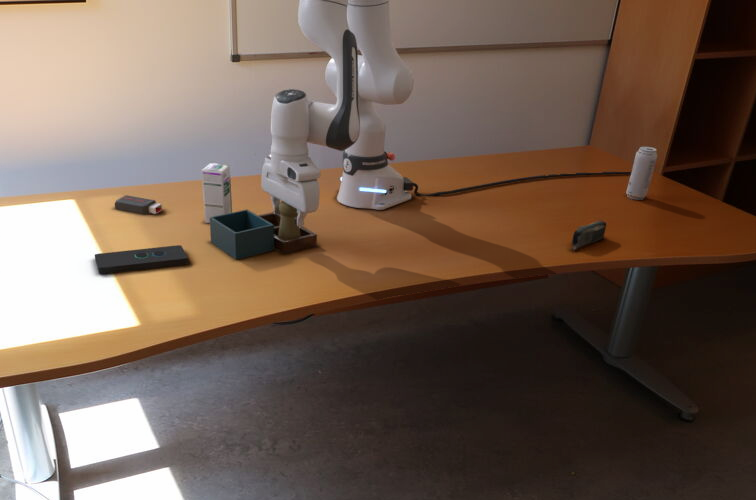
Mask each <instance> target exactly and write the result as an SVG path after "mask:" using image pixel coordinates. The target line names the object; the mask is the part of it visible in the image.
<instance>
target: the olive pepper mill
mask: <svg viewBox="0 0 756 500" xmlns="http://www.w3.org/2000/svg"><path fill="white" fill-rule="evenodd" d="M279 211H280V213H281V220H280V227H279V234H278V237H280V238H282V239H283V240H289V239H294V238H298V237H301V236H300V228H299V226H297V225H295V218H297V216H298V213H297V209H296V208H294V207H292V206H290V205H289V204H287V203H285V202H283V201H281V200H280V204H279Z"/></svg>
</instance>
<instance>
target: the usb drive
mask: <svg viewBox="0 0 756 500" xmlns="http://www.w3.org/2000/svg"><path fill="white" fill-rule="evenodd" d="M114 209H115V210H119V211H125V212H130V213H134V214H139V215H140V214H141V215H149V214H153V215H156V214H158V213H160V212H162V211H163V204H162V203H159V202H157V201H156V199H150V198H145V197H138V196H133V195H128V194H127V195H126V194H125V195H123V196H122V197H119V198H118V199H116V200H115V202H114Z"/></svg>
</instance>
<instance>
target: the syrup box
mask: <svg viewBox="0 0 756 500" xmlns="http://www.w3.org/2000/svg"><path fill="white" fill-rule="evenodd" d="M200 172H201V184H202V199H203V211H204V223H206V224H210V217H214V216H218V215H223V214H228V213H233V202H232V184H231V183H232V182H231V181H232V180H231V166H230V165H228V164H224V163H218V162H217V163H215V162H213V163H212V162H211V163H208V164H207V165H206V166H205V167H204V168H202V169H201V171H200Z"/></svg>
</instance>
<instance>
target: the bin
mask: <svg viewBox="0 0 756 500" xmlns="http://www.w3.org/2000/svg"><path fill="white" fill-rule="evenodd" d="M274 227H275V224H271V223H270V222H268V221H266V220H265V219H263V218H261V217H259V216H258V215H257V214H256V213H254V212H253V211H251V210H249V209H243V210H238V211H234V212H233V211H232V213H228V214H223V215H218V216H214V217H210V223H209V231H210V243H211V244H212V245H215V246H216V247H217V248H218V249H220V250H221V251H223V252H224V253H226V254H227V255H229V256H230V257H232V258H233V259H234V260H241V259H244V258H245V259H246V258H249V257H252V256H256V255H260V254H261V255H262V254H265V253H268V252H272V251H273V252H274V250H275V248H274Z"/></svg>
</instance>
